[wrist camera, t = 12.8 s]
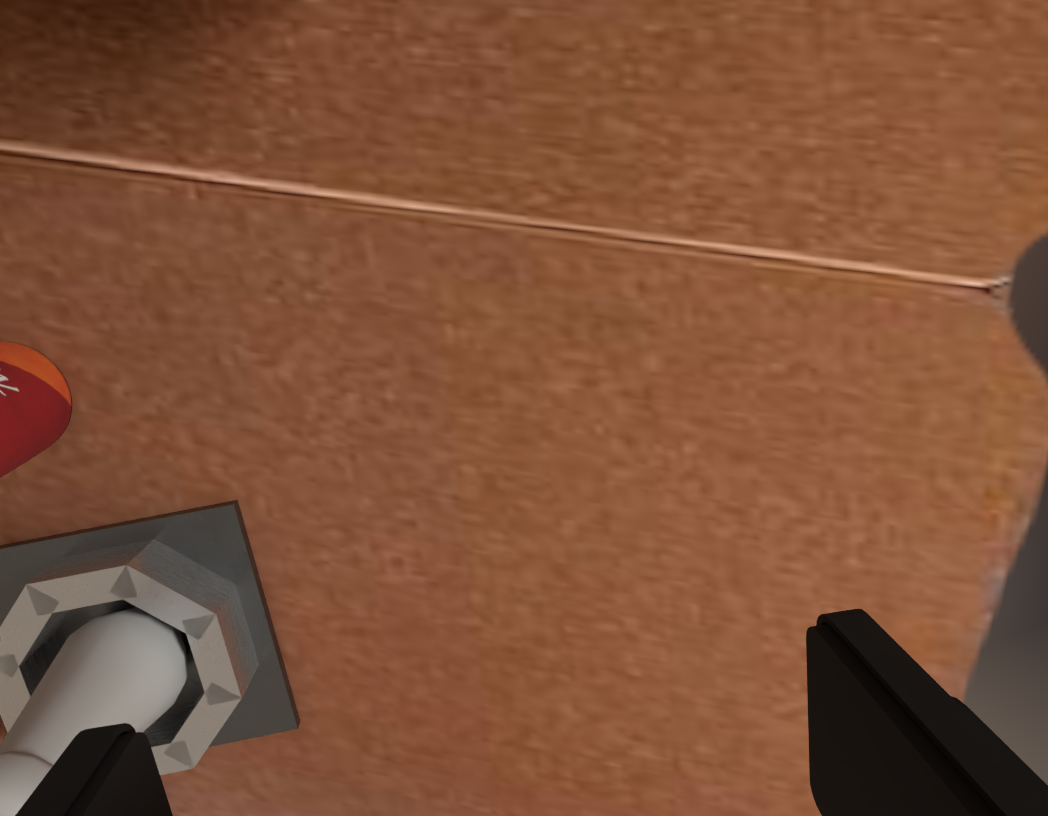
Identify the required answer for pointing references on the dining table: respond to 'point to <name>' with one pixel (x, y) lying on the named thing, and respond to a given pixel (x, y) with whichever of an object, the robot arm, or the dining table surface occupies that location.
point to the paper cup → (29, 404)
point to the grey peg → (92, 694)
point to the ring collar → (168, 594)
